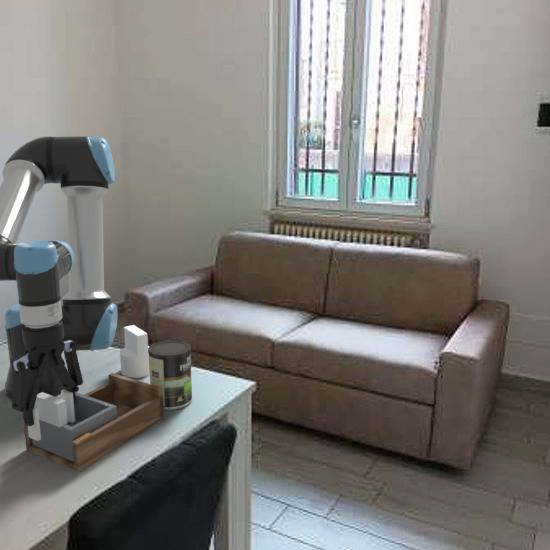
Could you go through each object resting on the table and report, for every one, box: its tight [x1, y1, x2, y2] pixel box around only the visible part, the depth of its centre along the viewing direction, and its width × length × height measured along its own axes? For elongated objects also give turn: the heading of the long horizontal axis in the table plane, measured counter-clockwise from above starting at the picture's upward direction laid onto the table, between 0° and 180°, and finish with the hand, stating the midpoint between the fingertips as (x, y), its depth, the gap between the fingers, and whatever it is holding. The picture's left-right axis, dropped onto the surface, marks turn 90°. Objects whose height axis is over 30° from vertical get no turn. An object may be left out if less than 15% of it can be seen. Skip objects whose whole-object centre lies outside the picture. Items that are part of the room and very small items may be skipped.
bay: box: [23, 372, 165, 473], centre depth 129 cm, size 16×25×8 cm, turn 149°
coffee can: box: [148, 340, 193, 411], centre depth 145 cm, size 10×10×14 cm
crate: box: [32, 392, 117, 462], centre depth 123 cm, size 13×12×12 cm
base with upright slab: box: [119, 324, 151, 379], centre depth 162 cm, size 9×9×12 cm
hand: (52, 428), depth 119 cm, fingers open, 8 cm apart
